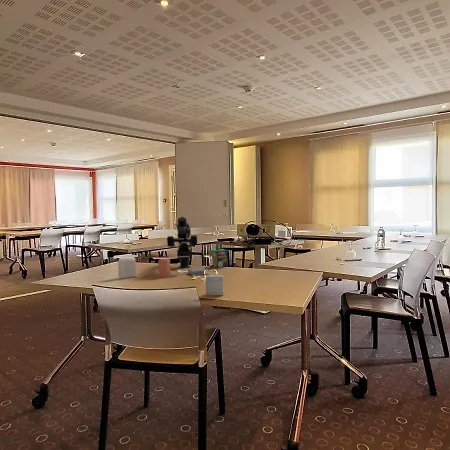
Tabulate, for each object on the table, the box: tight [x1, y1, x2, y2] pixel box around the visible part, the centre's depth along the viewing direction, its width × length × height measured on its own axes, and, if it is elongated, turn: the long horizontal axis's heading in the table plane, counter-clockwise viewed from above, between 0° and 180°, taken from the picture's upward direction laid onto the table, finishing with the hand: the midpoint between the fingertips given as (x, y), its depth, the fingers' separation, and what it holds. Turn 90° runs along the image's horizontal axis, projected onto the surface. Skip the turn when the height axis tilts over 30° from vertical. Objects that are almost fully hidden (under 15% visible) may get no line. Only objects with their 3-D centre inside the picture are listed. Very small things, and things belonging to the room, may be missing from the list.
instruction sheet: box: [176, 269, 188, 274], centre depth 244 cm, size 10×14×1 cm
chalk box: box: [208, 244, 229, 269], centre depth 258 cm, size 9×9×15 cm
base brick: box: [187, 267, 206, 277], centre depth 233 cm, size 10×10×2 cm
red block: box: [157, 258, 171, 278], centre depth 226 cm, size 4×6×10 cm
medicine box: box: [205, 274, 225, 297], centre depth 176 cm, size 8×4×9 cm, turn 86°
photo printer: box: [117, 256, 137, 280], centre depth 226 cm, size 10×4×12 cm, turn 123°
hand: (181, 247), depth 234 cm, fingers open, 9 cm apart
